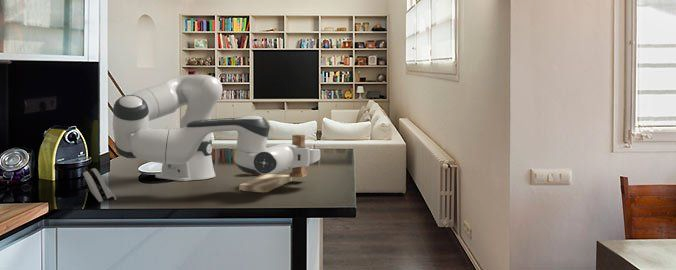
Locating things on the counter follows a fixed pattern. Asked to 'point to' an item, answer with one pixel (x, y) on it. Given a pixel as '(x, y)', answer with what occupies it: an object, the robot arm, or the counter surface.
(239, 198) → the counter surface
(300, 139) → the brown wooden block tower
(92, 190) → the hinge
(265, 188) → the board
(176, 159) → the robot arm
